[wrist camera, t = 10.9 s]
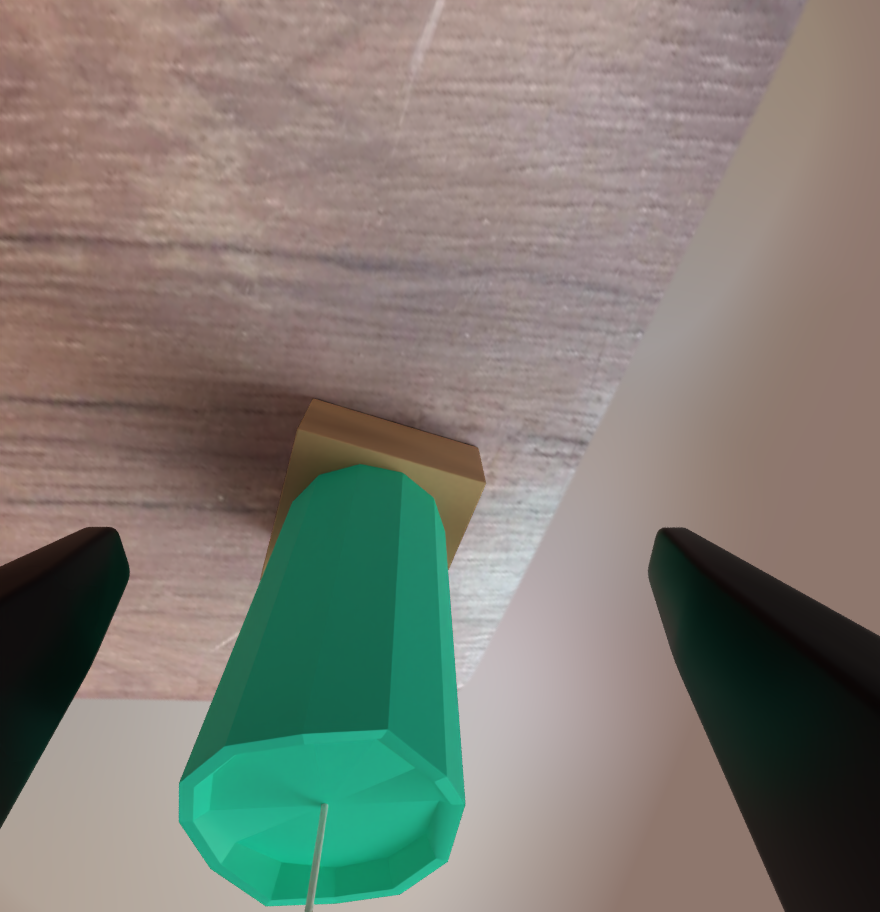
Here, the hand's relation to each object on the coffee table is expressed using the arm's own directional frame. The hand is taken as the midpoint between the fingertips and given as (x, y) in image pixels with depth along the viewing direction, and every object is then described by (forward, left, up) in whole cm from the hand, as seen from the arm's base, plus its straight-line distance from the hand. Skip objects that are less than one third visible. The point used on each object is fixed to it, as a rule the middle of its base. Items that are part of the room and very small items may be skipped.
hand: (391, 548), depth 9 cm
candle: (-3, +6, -10) cm, 12 cm away
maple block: (-3, +6, -13) cm, 14 cm away
